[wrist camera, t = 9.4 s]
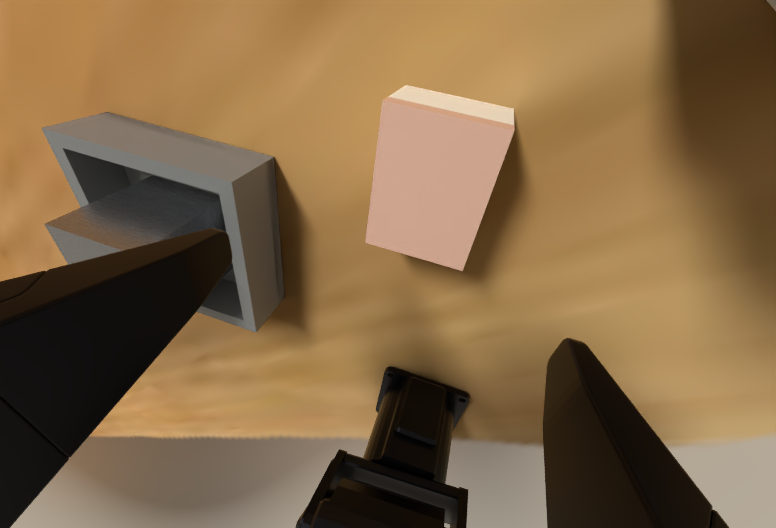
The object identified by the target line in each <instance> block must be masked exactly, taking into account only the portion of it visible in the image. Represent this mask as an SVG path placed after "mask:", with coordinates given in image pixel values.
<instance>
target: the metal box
mask: <svg viewBox="0 0 776 528" xmlns="http://www.w3.org/2000/svg"><path fill="white" fill-rule="evenodd" d="M45 226H46V228H47V229H48V231H49V233H50V234H51V236H52V238H53V239H54V241H55V243H56V244H57V246H58V248H59V250H60V251H61V253H62V255H63V256H64V258H65V260H66V261H67V263H68V265H69V264H72V263H76V262H80V261H84V260H88V259H92V258H96V257H100V256H104V255H108V254H111V253H115V252H119V251H123V250H127V249H131V248H135V247H139V246H143V245H147V244H150V243H154V242H158V241H162V240H166V239H170V238H174V237H178V236H182V235H186V234H190V233H193V232H197V231H201V230H205V229H209V228H215V229H218V230H222V231H225V232H226V227H225V222H224V217H223V211H222V206H221V201H220V196H219V195H216V194H212V193H209V192H205V191H202V190H199V189H195V188H192V187H189V186H185V185H182V184H179V183H175V182H172V181H169V180H165V179H162V178H159V177H155V176H150V177H148V178H146V179H144V180H141V181H139V182H137V183H135V184H132V185H130V186H128V187H126V188H124V189H121V190H119V191H117V192H115V193H112V194H110V195H108V196H106V197H103V198H101V199H99V200H97V201H95V202H92V203H90V204H88V205H86V206H83V207H81V208H79V209H77V210H75V211H72V212H70V213H68V214H66V215H63V216H61V217H59V218H57V219H54V220H52V221H50V222H48V223H46V224H45ZM226 233H227V232H226ZM232 269H233V263H232V261H231V264H230V265H229V267H228V268H227V270H226V271H225V272H224V274H223V275H222V277H221V278H220V280H221V279H222V278H223V277H224V276H225V275H226V274H227V273H229V272H230V271H231V270H232ZM220 280H219V281H220ZM219 281H218V282H219Z"/></svg>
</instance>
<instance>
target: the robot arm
mask: <svg viewBox="0 0 776 528" xmlns="http://www.w3.org/2000/svg"><path fill="white" fill-rule="evenodd" d="M231 261H232V250H231V245H230V240H229V235H228V234H227V233H226V232H225V231H222V230H218V229H215V228H209V229H205V230H201V231H197V232H193V233H190V234H186V235H182V236H178V237H174V238H170V239H166V240H162V241H158V242H154V243H150V244H147V245H143V246H139V247H135V248H131V249H127V250H123V251H119V252H115V253H111V254H108V255H104V256H100V257H96V258H92V259H88V260H84V261H80V262H76V263H72V264H69V265H65V266H61V267H57V268H53V269H49V270H48V271H47V272H46V271H41V272H37V273H33V274H29V275H25V276H21V277H17V278H13V279H9V280H5V281H1V282H0V528H10V527H11V526H12V525H13V523H14V522H15V521H16V520H17V519H18V518H19V516H20V515H21V514H22V513H23V512H24V511H25V509H26V508H27V507H28V506H29V505H30V504H31V503H32V501H33V500H34V499H35V498H36V497H37V496H38V494H39V493H40V492H41V491H42V490H43V489H44V487H45V486H46V485H47V484H48V483H49V482H50V481H51V479H52V478H53V477H54V476H55V475H56V474H57V473H58V471H59V470H60V469H61V468H62V467H63V466H64V464H65V463H66V462H67V461H68V460H69V457H71V456H72V455H73V453H75V451H76V450H77V449H78V448H79V447H80V446H81V444H82V443H83V442H84V441H85V440H86V439H87V438H88V436H89V435H90V434H91V433H92V432H93V431H94V429H95V428H96V427H97V426H98V425H99V424H100V423H101V421H102V420H103V419H104V418H105V417H106V416H107V414H108V413H109V412H110V411H111V410H112V409H113V407H114V406H115V405H116V404H117V403H118V402H119V401H120V399H121V398H122V397H123V396H124V395H125V394H126V392H127V391H128V390H129V389H130V388H131V387H132V386H133V384H134V383H135V382H136V381H137V380H138V379H139V377H140V376H141V375H142V374H143V373H144V372H145V370H146V369H147V368H148V367H149V366H150V365H151V364H152V362H153V361H154V360H155V359H156V358H157V357H158V355H159V354H160V353H161V352H162V351H163V350H164V349H165V347H166V346H167V345H168V344H169V343H170V342H171V340H172V339H173V338H174V337H175V336H176V335H177V333H178V332H179V331H180V330H181V329H182V328H183V327H184V325H185V324H186V323H187V322H188V321H189V320H190V318H191V317H192V316H193V315H194V314H195V313H196V311H197V310H198V309H199V308H200V306H201V305H202V304H203V302H204V301H205V300H206V298H207V297H208V295H209V294H210V293H211V291H212V290H213V288H214V287H215V285H216V284H217V283H218V281H219V280H220V278H221V277H222V275H223V274H224V272H225V271H226V270H227V268H228V267H229V265H230V264H231ZM469 398H470V396H469V394H468V393H466V392H464V391H461V390H458V389H455V388H452V387H449V386H446V385H443V384H440V383H437V382H435V381H432V380H429V379H426V378H423V377H420V376H417V375H414V374H411V373H409V372H406V371H403V370H400V369H397V368H394V367H387V368H386V370H385V373H384V377H383V381H382V385H381V390H380V394H379V398H378V402H377V406H376V411H377V412H378V415H377V418H376V421H375V424H374V427H373V430H372V433H371V436H370V439H369V442H368V445H367V448H366V451H365V454H364V457H363V458H361V457H358V456H354V455H351V454H348V453H347V451H344V450H339V451H338V452H337V454H336V456H335V458H334V459H333V460H332V461H331V463H330V464H329V466H328V468H327V471H326V472H325V474H324V476H323V478H322V480H321V482H320V484H319V485H318V487H317V489H316V491H315V493H314V495H313V497H312V499H311V501H310V503H309V505H308V506H307V508H306V509H305V511H304V512H303V514H302V515H301V516H300V518H299V520H298V521H297V524H296V528H445V527H444V523H447V524H450V528H466V522H467V503H468V489H464V488H461V487H459V488H456V487H453V486H450V485H446V484H445V481H446V474H447V467H448V460H449V453H450V445H451V438H452V431H453V429H454V428H455V426H456V424H457V422H458V421H459V419H460V417H461V415H462V414H463V412H464V410H465V409H466V407H467V405H468V403H469ZM543 442H544V463H545V483H546V505H547V523H548V524H547V525H548V528H729V527H728V526H727V524H726V523H725V521H724V520H723V519H722V518H721V516H720V515H719V514H718V513H717V511H715V510H712V505H711V504H710V503H709V501H708V500H707V499H706V497H705V496H704V495H703V493H702V492H701V491H700V490H699V488H698V487H697V486H696V485H695V484H694V482H693V481H692V480H691V478H690V477H689V476H688V474H687V473H686V472H685V470H684V469H683V468H682V467H681V466H680V464H679V463H678V461H677V460H676V459H675V458H674V456H673V455H672V454H671V452H670V451H669V450H668V449H667V447H666V446H665V445H664V443H663V442H662V441H661V440H660V438H659V437H658V436H657V434H656V433H655V432H654V431H653V429H652V428H651V427H650V425H649V424H648V423H647V422H646V420H645V419H644V418H643V417H642V415H641V414H640V413H639V411H638V410H637V409H636V408H635V406H634V405H633V404H632V402H631V401H630V400H629V399H628V397H627V396H626V395H625V393H624V392H623V391H622V390H621V388H620V387H619V386H618V384H617V383H616V382H615V381H614V379H613V378H612V377H611V375H610V374H609V373H608V372H607V370H606V369H605V368H604V366H603V365H602V364H601V363H600V361H599V360H598V359H597V357H596V356H595V355H594V354H593V352H592V351H591V350H590V349H589V347H588V346H587V345H586V344H585V343H583V342H581V341H577V340H574V339H571V338H566V339H564V340H563V341H562V342H561V343H560V345H559V346H558V347H557V349H556V350H555V351H554V353H553V354H552V356H551V357H550V359H549V361H548V364H547V374H546V388H545V402H544V415H543Z"/></svg>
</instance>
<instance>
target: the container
mask: <svg viewBox="0 0 776 528" xmlns="http://www.w3.org/2000/svg"><path fill="white" fill-rule="evenodd" d="M766 1H767V2H768V3H769V4H770V5H771V6H772V7H773V9H774V10H775V11H776V0H766Z"/></svg>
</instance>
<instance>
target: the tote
mask: <svg viewBox="0 0 776 528" xmlns="http://www.w3.org/2000/svg"><path fill="white" fill-rule="evenodd" d="M42 130H43V132H44V134H45V136H46V138H47V140H48V142H49V144H50V146H51V148H52V150H53V152H54V154H55V156H56V158H57V160H58V162H59V164H60V166H61V168H62V170H63V172H64V174H65V176H66V178H67V180H68V182H69V184H70V186H71V188H72V190H73V192H74V194H75V196H76V198H77V200H78V203H79V205H80V207H83V206H86V205H88V204H90V203H92V202H95V201H97V200H99V199H101V198H103V197H106V196H108V195H110V194H112V193H115V192H117V191H119V190H121V189H124V188H126V187H128V186H130V185H132V184H135V183H137V182H139V181H141V180H144V179H146V178H148V177H150V176H155V177H159V178H162V179H165V180H169V181H172V182H175V183H179V184H182V185H185V186H189V187H192V188H195V189H199V190H202V191H205V192H209V193H212V194H216V195H219V196H220V201H221V206H222V211H223V217H224V222H225V227H226V232H227V234H228V235H229V240H230V245H231V250H232V263H233V269H232V270H231V271H230V272H229V273H227V274H226V275H225V276H224V277H223V278H222V279H221V280H220V281H219V282H218V283H217V284H216V285H215V287H214V288H213V290H212V291H211V293H210V294H209V295H208V297H207V298H206V300H205V301H204V302H203V304H202V305H201V306H200V308H199V309H198V310H197V311H196V312H199V313H202V314H205V315H207V316H210V317H213V318H216V319H219V320H222V321H224V322H227V323H230V324H233V325H236V326H239V327H242V328H244V329H247V330H250V331H253V332H257V331H258V330H259V329H260V327H261V326H262V325H263V324H264V322H265V321H266V320H267V319H268V317H269V316H270V315H271V314H272V312H273V311H274V310H275V309H276V307H277V306H278V305H279V304H280V302H281V301H282V300H283V299H284V285H283V271H282V258H281V244H280V231H279V217H278V204H277V190H276V177H275V163H274V157H273V156H269V155H265V154H262V153H258V152H254V151H250V150H247V149H243V148H239V147H236V146H232V145H228V144H224V143H221V142H217V141H213V140H209V139H206V138H202V137H198V136H195V135H191V134H187V133H183V132H180V131H176V130H172V129H169V128H165V127H161V126H157V125H154V124H150V123H146V122H143V121H139V120H135V119H131V118H128V117H124V116H120V115H117V114H113V113H109V112H106V113H101V114H97V115H93V116H89V117H85V118H81V119H77V120H72V121H68V122H64V123H60V124H56V125H52V126H48V127H43V128H42Z"/></svg>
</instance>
